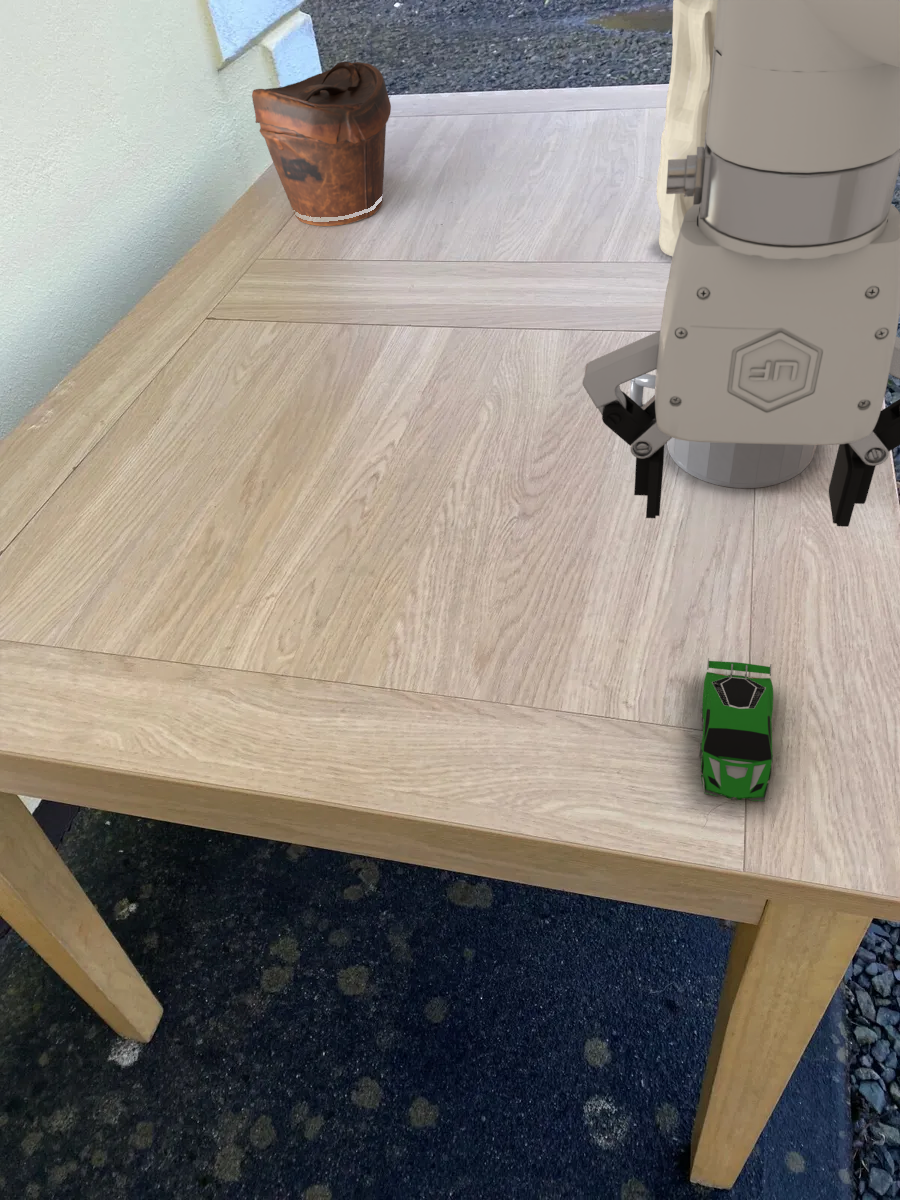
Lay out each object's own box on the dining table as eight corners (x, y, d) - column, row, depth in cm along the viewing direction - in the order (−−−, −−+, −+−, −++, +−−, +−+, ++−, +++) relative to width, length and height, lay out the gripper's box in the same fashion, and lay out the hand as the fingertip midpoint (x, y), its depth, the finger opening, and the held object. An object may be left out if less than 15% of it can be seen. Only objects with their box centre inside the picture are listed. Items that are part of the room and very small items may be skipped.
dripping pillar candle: (736, 251, 109) (773, -49, 88) (677, 272, 107) (700, -30, 86) (693, 227, 115) (718, -60, 94) (636, 246, 113) (648, -43, 92)
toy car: (772, 807, 58) (778, 787, 56) (695, 796, 59) (698, 777, 57) (770, 684, 64) (775, 663, 63) (701, 677, 65) (704, 656, 64)
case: (412, 176, 137) (394, 41, 124) (392, 234, 123) (369, 89, 110) (298, 184, 139) (268, 52, 127) (265, 242, 126) (229, 101, 113)
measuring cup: (829, 418, 85) (842, 361, 80) (793, 502, 77) (805, 444, 73) (652, 385, 92) (655, 331, 87) (603, 459, 84) (605, 404, 80)
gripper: (575, 229, 37) (577, 544, 49) (1053, 219, 33) (927, 562, 45) (590, 157, 42) (589, 459, 54) (1007, 142, 38) (904, 468, 50)
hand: (743, 505), depth 50 cm, fingers open, 9 cm apart
